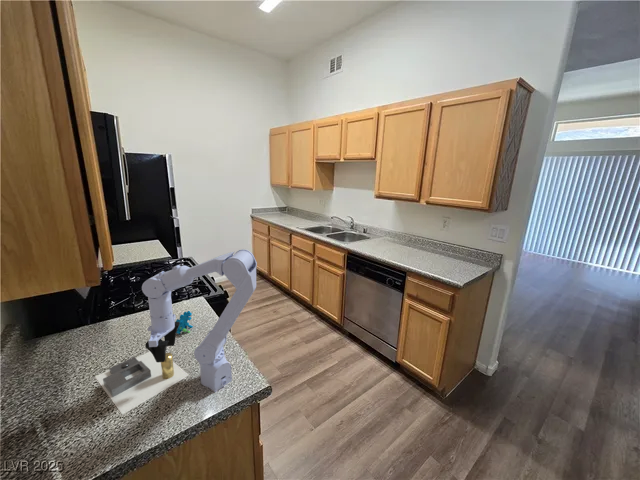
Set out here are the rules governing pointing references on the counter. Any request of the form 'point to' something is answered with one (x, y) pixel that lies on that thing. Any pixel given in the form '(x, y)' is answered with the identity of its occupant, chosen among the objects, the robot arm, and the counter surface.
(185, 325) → the gear
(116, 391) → the plate
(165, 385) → the mat
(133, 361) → the plate
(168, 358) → the pin
